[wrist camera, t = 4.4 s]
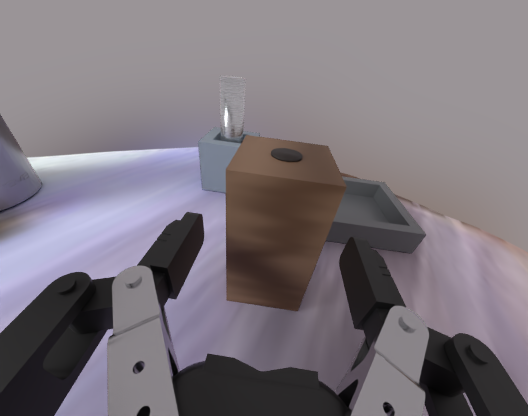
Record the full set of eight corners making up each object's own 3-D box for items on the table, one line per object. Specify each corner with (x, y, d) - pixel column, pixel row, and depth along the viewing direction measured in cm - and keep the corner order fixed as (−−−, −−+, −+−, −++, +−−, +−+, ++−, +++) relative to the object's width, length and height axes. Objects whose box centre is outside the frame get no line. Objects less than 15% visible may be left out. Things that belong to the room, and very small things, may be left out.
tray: (290, 235, 20) (295, 215, 19) (289, 186, 28) (293, 169, 27) (411, 253, 20) (426, 234, 18) (376, 198, 28) (384, 182, 27)
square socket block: (202, 189, 25) (198, 141, 22) (216, 169, 30) (214, 127, 27) (249, 196, 25) (253, 149, 22) (256, 174, 30) (260, 133, 27)
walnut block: (226, 300, 14) (225, 167, 8) (240, 247, 18) (246, 133, 12) (297, 311, 14) (347, 184, 8) (295, 255, 18) (328, 144, 12)
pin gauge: (219, 184, 27) (216, 76, 20) (224, 175, 29) (223, 75, 22) (239, 187, 27) (242, 79, 20) (242, 178, 29) (247, 78, 22)
